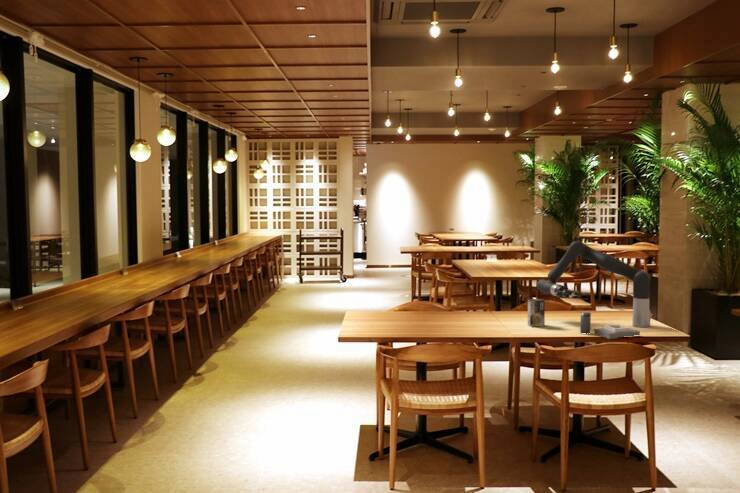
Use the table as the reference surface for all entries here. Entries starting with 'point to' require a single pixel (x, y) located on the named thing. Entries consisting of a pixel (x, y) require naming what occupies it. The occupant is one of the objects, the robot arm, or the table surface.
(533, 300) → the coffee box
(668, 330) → the table surface
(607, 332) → the grey flat block
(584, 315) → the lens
